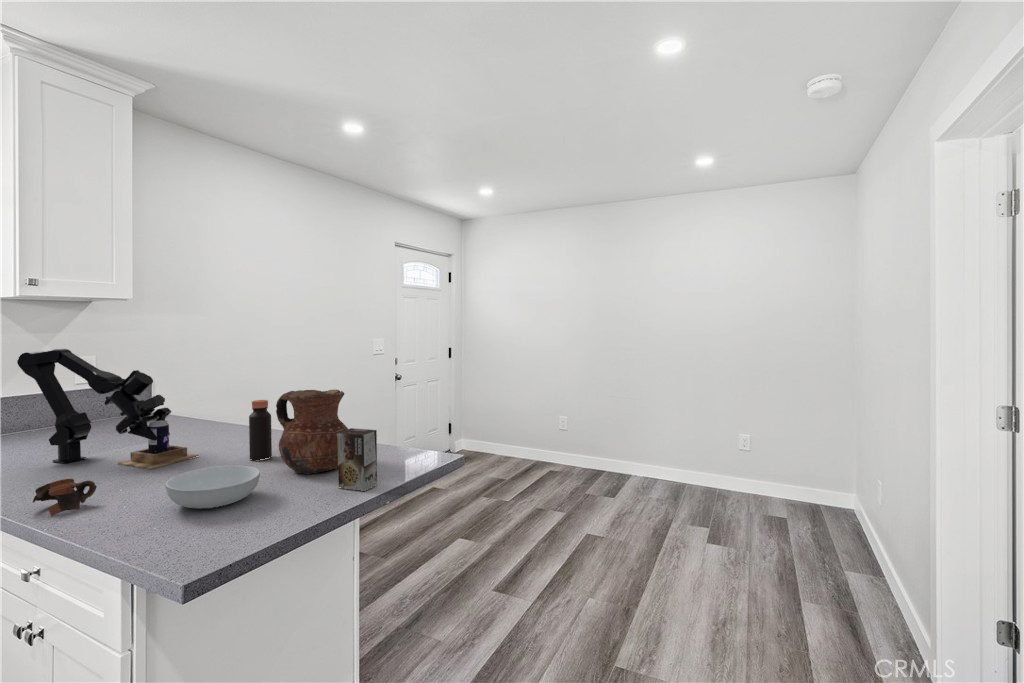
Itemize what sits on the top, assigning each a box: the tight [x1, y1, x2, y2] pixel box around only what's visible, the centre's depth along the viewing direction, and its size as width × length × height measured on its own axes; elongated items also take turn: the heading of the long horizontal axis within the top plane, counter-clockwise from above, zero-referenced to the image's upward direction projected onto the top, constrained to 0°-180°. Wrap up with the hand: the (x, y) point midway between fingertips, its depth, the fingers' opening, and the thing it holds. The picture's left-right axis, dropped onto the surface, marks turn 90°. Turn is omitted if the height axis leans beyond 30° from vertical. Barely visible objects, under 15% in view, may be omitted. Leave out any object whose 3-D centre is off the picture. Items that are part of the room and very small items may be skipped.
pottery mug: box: [32, 478, 98, 516], centre depth 123 cm, size 12×10×8 cm
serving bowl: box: [165, 464, 261, 509], centre depth 126 cm, size 21×21×7 cm
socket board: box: [117, 444, 200, 470], centre depth 164 cm, size 16×16×4 cm
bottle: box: [248, 399, 273, 461], centre depth 167 cm, size 7×7×20 cm
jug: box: [275, 389, 349, 474], centre depth 156 cm, size 22×21×25 cm
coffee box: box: [337, 427, 378, 492], centre depth 138 cm, size 9×6×16 cm
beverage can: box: [147, 420, 170, 454], centre depth 164 cm, size 6×6×12 cm
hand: (162, 437), depth 164 cm, fingers closed on beverage can, 5 cm apart
